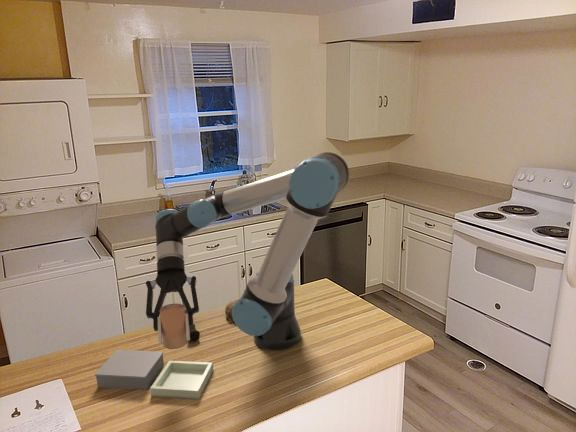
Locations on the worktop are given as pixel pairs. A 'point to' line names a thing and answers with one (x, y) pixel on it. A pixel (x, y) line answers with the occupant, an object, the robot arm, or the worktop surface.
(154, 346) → the worktop surface
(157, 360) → the grey square plinth
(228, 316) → the bread roll
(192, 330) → the hand tool
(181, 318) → the terracotta domed cylinder
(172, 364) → the tray
